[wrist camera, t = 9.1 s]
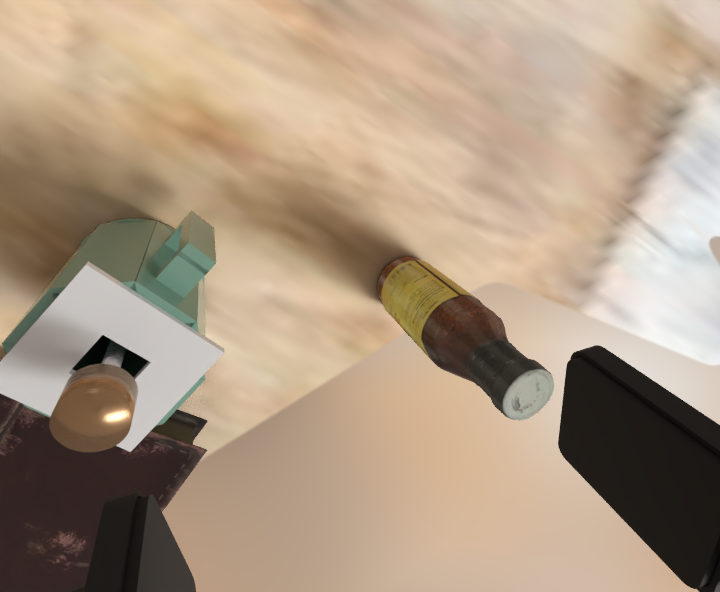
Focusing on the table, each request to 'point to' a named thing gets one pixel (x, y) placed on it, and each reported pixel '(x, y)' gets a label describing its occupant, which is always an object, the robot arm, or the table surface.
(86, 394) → the plunger
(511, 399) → the sauce bottle
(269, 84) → the table surface
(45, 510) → the diary
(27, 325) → the press carafe
